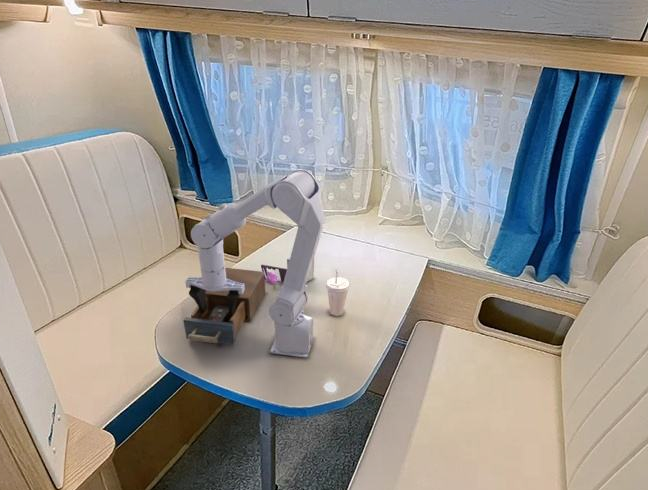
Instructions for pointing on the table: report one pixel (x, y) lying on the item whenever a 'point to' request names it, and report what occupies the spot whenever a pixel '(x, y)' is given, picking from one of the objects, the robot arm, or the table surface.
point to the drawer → (215, 323)
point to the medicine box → (311, 273)
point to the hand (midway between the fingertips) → (218, 312)
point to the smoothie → (337, 294)
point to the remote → (220, 314)
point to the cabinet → (253, 288)
